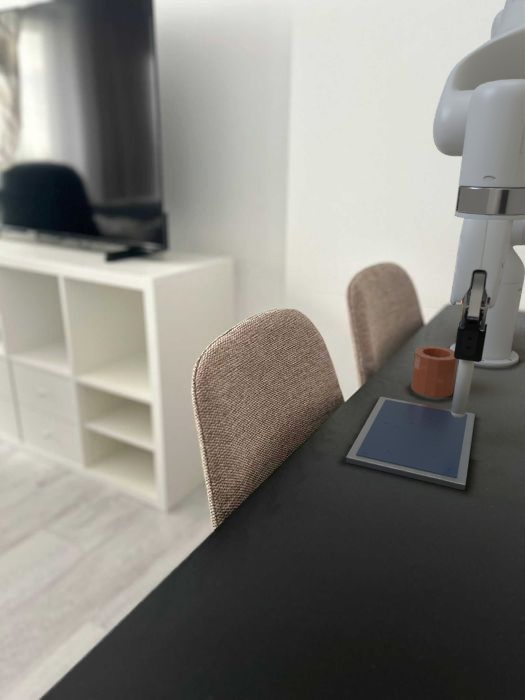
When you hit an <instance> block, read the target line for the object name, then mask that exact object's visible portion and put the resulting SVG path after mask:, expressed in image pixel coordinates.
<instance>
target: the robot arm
mask: <svg viewBox="0 0 525 700" xmlns="http://www.w3.org/2000/svg"><path fill="white" fill-rule="evenodd" d="M432 140H433V143H434V145H435V147H436V149H437V150H438V151H439V152H440V153H441V154H443V155H445V156H448V157H461V162H460V171H459V178H458V186H457V194H456V202H455V211H454V217H457V218H460V219H461V218H462V219H463V221H462V224H461V229H460V234H459V239H458V245H457V253H456V259H455V265H454V273H453V279H452V286H451V293H450V298H449V303H450V304H451V305H452V306H456V305H457V303H458V304H462V299H463V298H464V301H463V306H462V305H461V307H462V315H461V314H460V320H461V321H459V324H458V326H457V330H456V336H455V343H453V344H451V345H450V347H449V349H451V350H453V351H454V358H456V359H458V360H459V359H460V360H467V361H474V362H475V363H474V365H481V366H491V367H505V366H511V365H515V364H517V363H519V360H520V359H519V358H520V356H519V354H518V353H517V352H516V351H514V350H513V349H512V347H513V342H514V337H515V331H516V327H517V320H518V316H519V310H520V303H521V299H522V294H523V289H524V288H523V287H524V283H525V265H524V261H523V260H522V258H521V257H520V256H519V254H518V253H517V251H516V250H515V249H514V247H516V246H525V0H505V3H504V6H503V8H502V9H501V10H500V11H498V12H497V14H496V15H495V17H494V18H493V21H492V24H491V29H490V39H489V40H487V41H486V42H484V43H483V44H481V45H480V46H478V47H477V48H475V49H474V50H473V51H471V52H469V53H468V54H466V56H464V57H463V58H461V59H460V60H459V61H458V62H457V63H456V64H455V65H454V66H453V68H452V69H451V71H450V72H449V74H448V75H447V78H446V80H445V82H444V85H443V88H442V91H441V93H440V97H439V100H438V103H437V105H436V109H435V114H434V119H433V124H432ZM480 322H481V324H480ZM479 328H480V329H479Z"/></svg>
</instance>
